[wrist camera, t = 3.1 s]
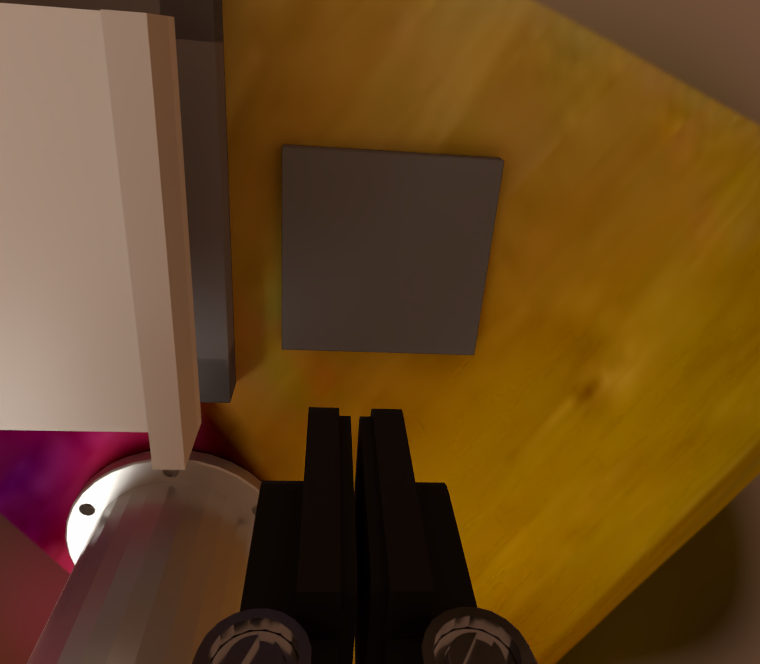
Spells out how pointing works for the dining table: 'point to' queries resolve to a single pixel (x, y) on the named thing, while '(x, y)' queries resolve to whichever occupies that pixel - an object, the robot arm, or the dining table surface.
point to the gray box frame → (198, 175)
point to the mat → (385, 249)
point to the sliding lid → (95, 229)
